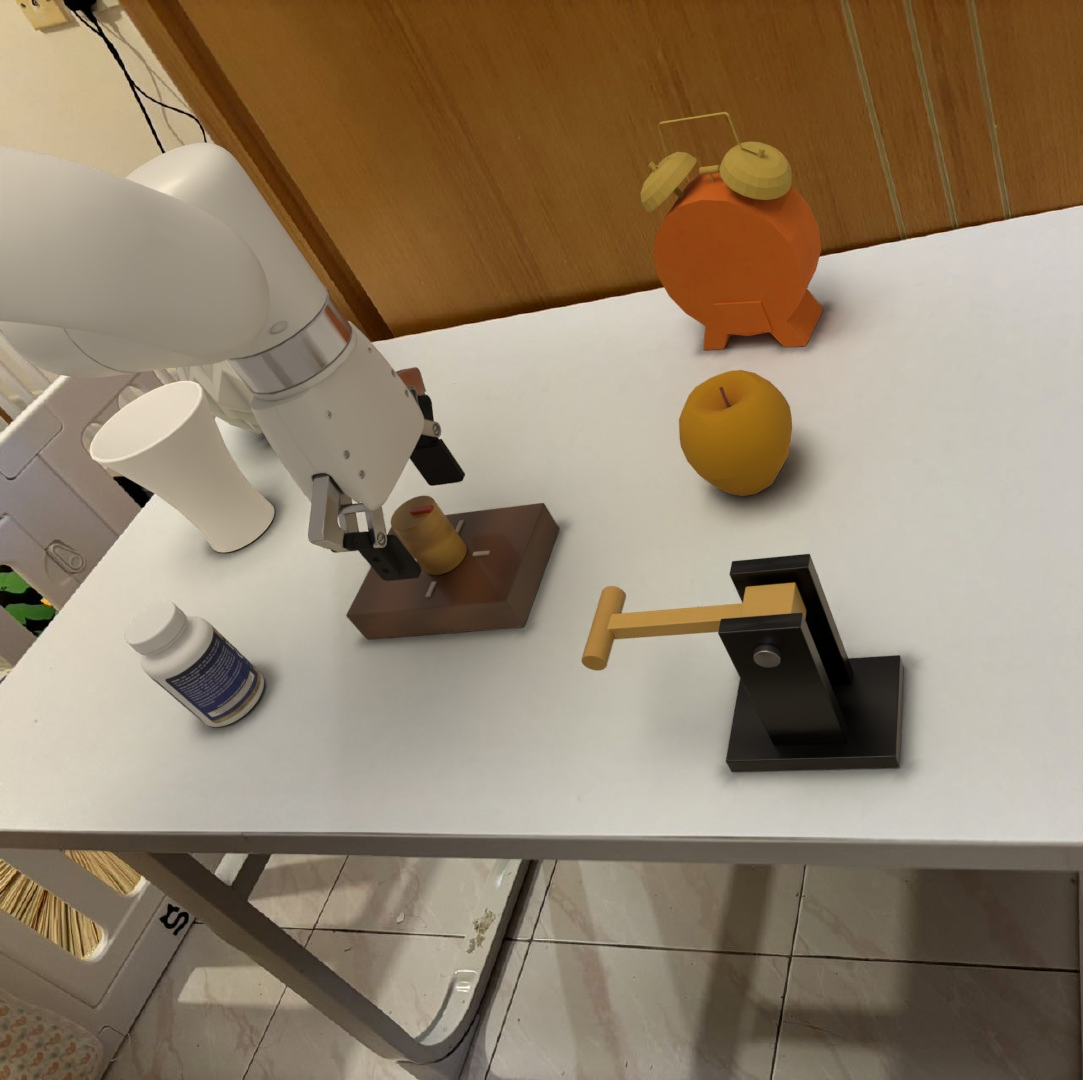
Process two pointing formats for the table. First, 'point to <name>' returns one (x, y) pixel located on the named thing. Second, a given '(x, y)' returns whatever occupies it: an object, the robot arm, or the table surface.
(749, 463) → the apple
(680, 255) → the alarm clock
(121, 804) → the table surface
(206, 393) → the vase
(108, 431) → the cup
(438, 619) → the brown dial base
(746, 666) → the handle bracket
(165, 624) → the pill bottle
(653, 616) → the door handle
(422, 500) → the dial knob
